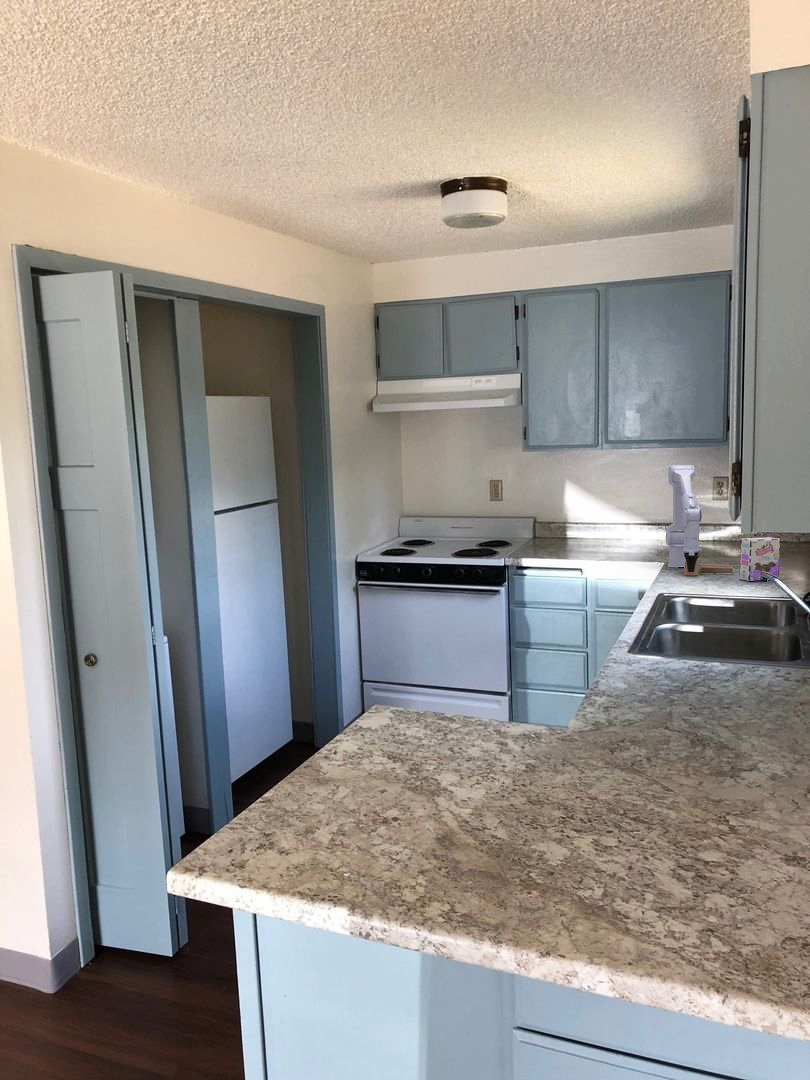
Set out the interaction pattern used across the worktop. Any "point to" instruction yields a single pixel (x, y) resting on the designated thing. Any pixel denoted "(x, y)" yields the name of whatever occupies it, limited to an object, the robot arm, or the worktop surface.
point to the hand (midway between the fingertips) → (690, 570)
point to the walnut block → (715, 568)
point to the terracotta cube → (690, 572)
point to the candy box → (759, 557)
